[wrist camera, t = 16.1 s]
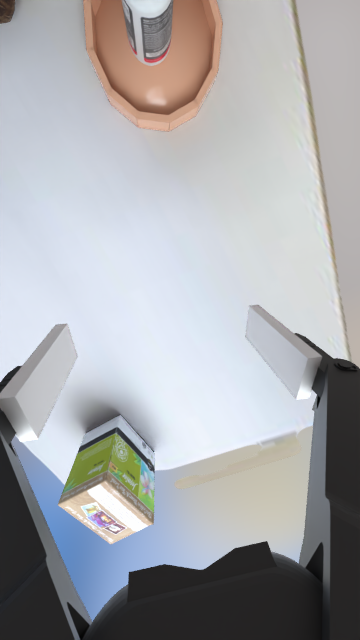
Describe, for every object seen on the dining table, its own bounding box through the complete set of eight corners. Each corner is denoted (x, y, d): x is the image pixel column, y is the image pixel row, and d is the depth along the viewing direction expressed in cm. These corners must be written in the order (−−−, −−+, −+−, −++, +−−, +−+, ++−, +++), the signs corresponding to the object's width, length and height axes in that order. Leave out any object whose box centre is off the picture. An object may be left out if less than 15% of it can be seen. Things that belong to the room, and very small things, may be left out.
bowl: (69, 70, 27) (61, 55, 25) (130, -88, 23) (127, -122, 21) (173, 156, 32) (174, 150, 29) (240, 35, 28) (247, 17, 26)
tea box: (156, 451, 53) (155, 526, 39) (122, 468, 54) (109, 547, 40) (120, 412, 48) (104, 483, 34) (83, 432, 49) (53, 508, 35)
